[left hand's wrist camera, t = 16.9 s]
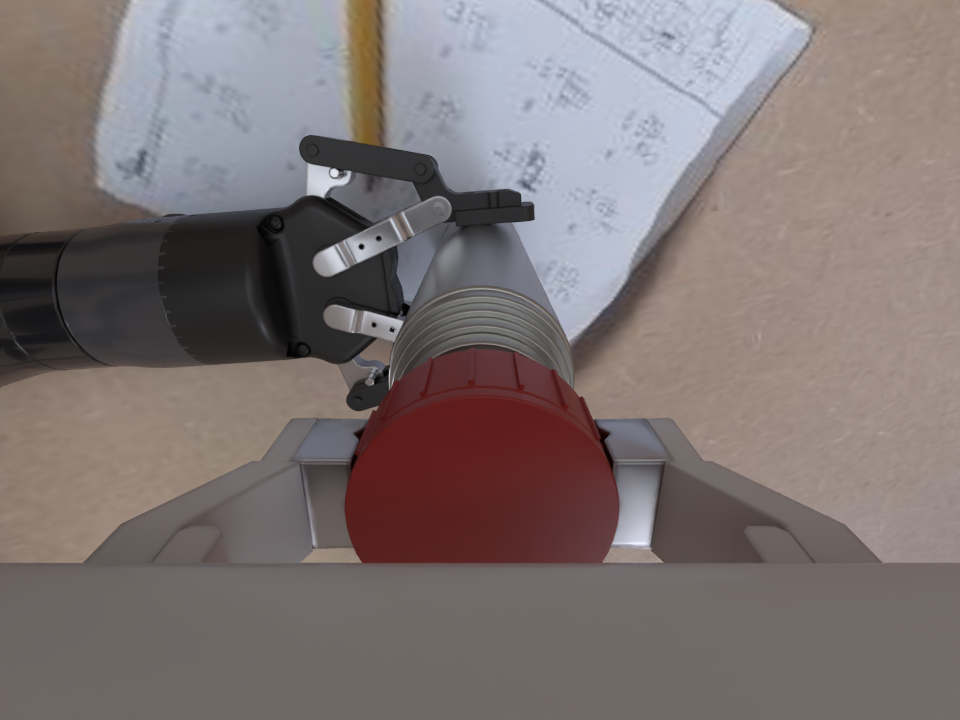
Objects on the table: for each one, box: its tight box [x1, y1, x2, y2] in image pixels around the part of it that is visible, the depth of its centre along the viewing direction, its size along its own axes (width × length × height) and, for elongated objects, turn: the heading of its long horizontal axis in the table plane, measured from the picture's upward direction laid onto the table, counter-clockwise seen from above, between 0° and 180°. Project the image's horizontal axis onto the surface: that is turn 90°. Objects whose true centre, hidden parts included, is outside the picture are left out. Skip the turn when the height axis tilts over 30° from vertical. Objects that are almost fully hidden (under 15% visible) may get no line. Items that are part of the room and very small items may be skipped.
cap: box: [344, 348, 620, 563], centre depth 9 cm, size 4×4×2 cm
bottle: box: [389, 222, 574, 390], centre depth 20 cm, size 5×5×24 cm
